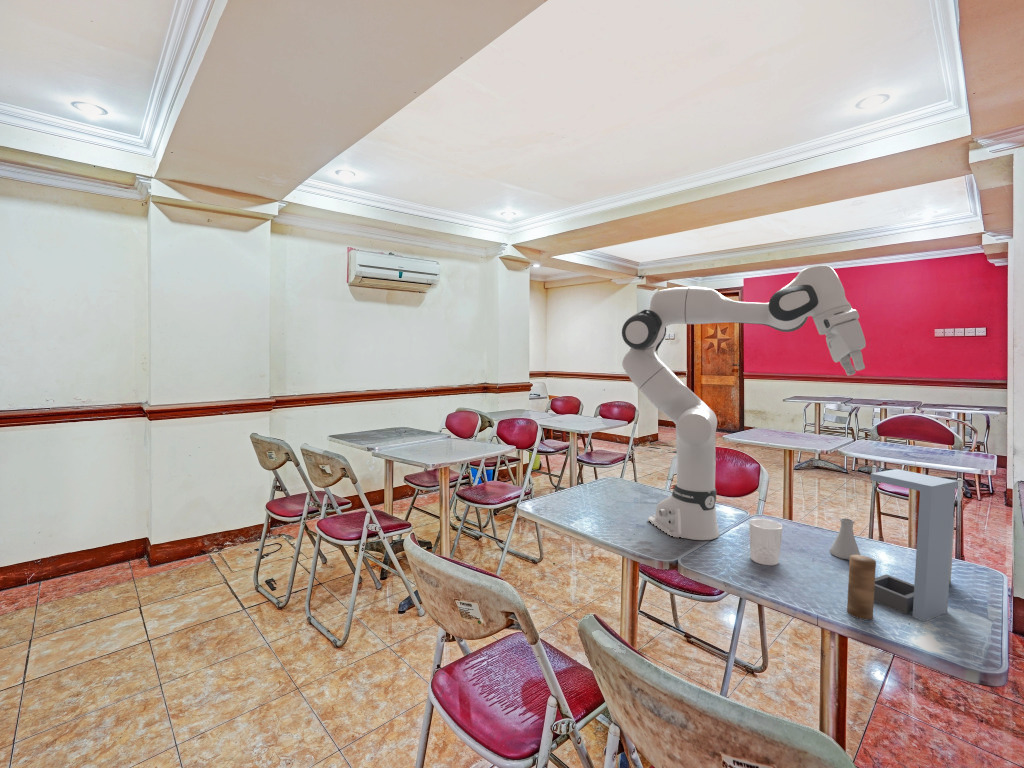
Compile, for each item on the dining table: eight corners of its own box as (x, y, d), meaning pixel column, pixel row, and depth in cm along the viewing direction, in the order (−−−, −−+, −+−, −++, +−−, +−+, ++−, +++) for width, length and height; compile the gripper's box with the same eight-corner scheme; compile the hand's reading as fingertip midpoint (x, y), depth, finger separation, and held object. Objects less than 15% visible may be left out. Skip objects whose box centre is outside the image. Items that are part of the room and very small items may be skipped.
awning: (864, 596, 111) (870, 473, 109) (890, 587, 115) (896, 468, 113) (923, 621, 101) (932, 486, 99) (949, 610, 105) (958, 481, 103)
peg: (842, 611, 105) (845, 556, 104) (855, 606, 107) (858, 553, 106) (864, 621, 101) (867, 565, 100) (877, 616, 103) (880, 561, 102)
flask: (851, 550, 137) (853, 515, 136) (867, 561, 130) (869, 525, 129) (824, 549, 137) (825, 515, 137) (838, 560, 130) (840, 524, 130)
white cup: (743, 560, 130) (745, 524, 129) (753, 551, 136) (754, 516, 135) (776, 569, 125) (777, 531, 124) (784, 559, 131) (786, 523, 130)
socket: (863, 596, 111) (864, 581, 111) (885, 588, 115) (886, 574, 114) (906, 614, 104) (907, 598, 103) (928, 606, 107) (929, 590, 107)
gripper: (815, 334, 138) (834, 380, 135) (829, 317, 119) (851, 370, 116) (840, 327, 136) (860, 373, 133) (859, 308, 117) (881, 362, 114)
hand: (856, 372), depth 124 cm, fingers open, 8 cm apart
